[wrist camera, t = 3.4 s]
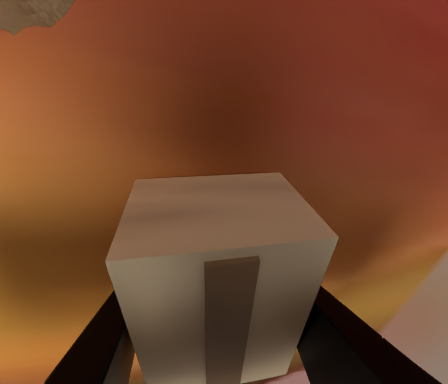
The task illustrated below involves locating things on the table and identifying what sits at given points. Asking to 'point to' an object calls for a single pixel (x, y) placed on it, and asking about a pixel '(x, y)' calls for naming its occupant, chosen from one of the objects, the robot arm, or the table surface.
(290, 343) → the taped cardboard box
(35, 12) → the clay tablet
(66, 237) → the table surface
